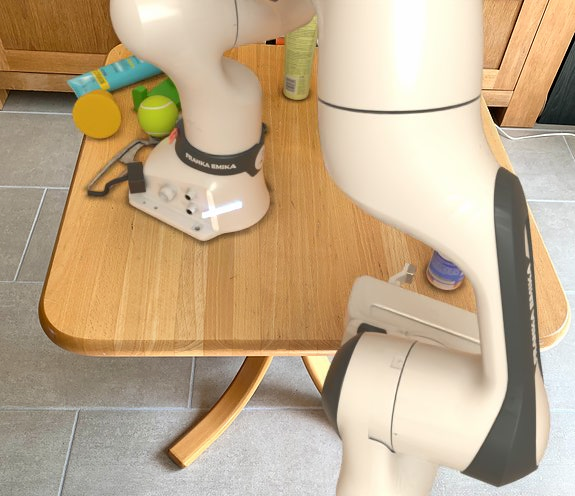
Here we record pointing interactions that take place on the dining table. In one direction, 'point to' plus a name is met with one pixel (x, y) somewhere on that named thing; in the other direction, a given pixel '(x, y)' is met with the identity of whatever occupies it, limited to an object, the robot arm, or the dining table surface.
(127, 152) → the nutcracker
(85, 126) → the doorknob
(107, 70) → the tube
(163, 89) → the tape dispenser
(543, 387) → the robot arm
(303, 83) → the tube
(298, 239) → the dining table surface
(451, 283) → the pill bottle
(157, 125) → the tennis ball
